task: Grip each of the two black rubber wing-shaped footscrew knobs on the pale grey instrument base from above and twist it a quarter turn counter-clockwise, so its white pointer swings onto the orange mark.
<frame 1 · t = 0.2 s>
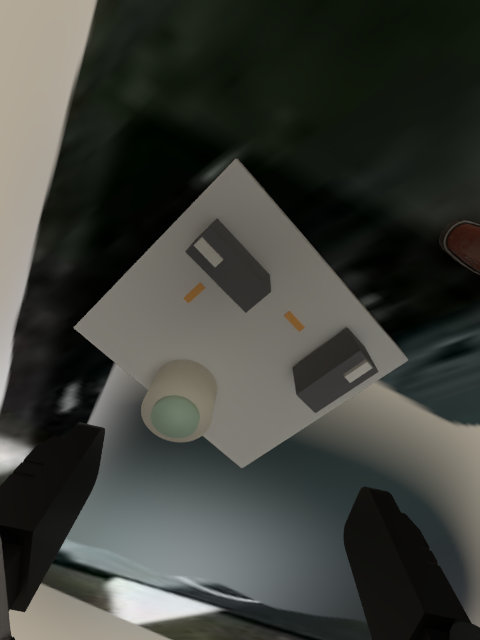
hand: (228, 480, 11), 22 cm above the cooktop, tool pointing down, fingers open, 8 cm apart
base plate: (240, 331, 33), on the cooktop
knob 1: (230, 265, 26), point 5 cm above the cooktop, hinge at 0.0°
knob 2: (332, 370, 29), point 5 cm above the cooktop, hinge at 0.0°
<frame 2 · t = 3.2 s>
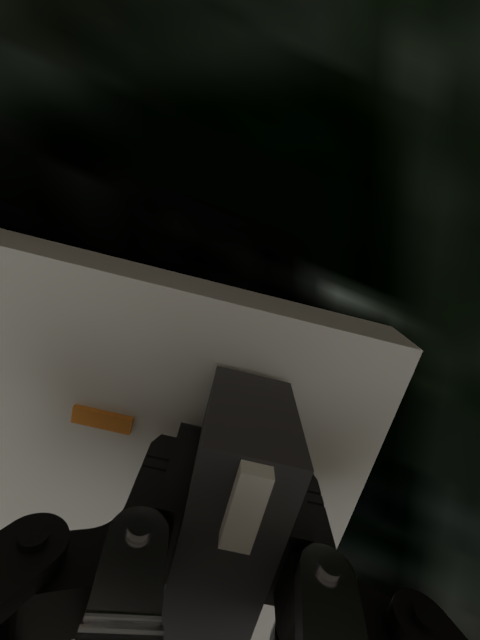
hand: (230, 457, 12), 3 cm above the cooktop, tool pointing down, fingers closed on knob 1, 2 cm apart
base plate: (96, 496, 16), on the cooktop
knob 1: (228, 503, 10), point 5 cm above the cooktop, hinge at 0.0°, touching gripper
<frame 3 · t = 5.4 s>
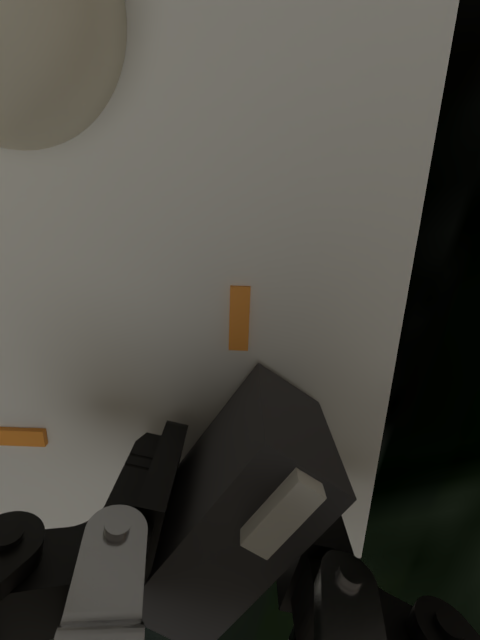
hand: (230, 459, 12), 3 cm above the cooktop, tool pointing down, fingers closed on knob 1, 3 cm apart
base plate: (79, 279, 13), on the cooktop
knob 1: (232, 499, 10), point 5 cm above the cooktop, hinge at 57.0°, touching gripper
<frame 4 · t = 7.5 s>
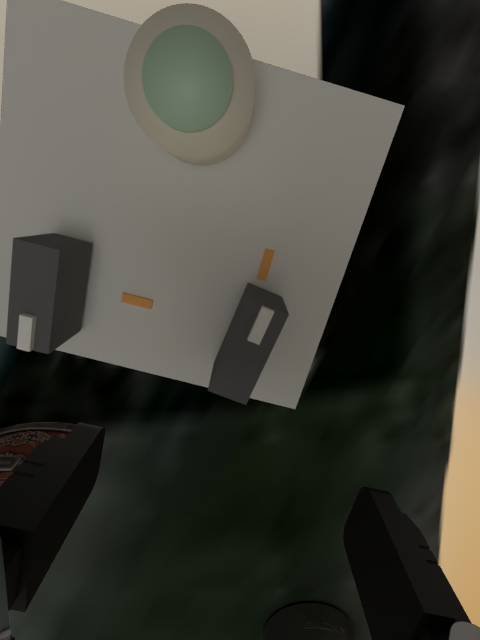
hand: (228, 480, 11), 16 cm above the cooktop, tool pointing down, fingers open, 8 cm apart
lighter: (41, 438, 30), on the cooktop
base plate: (182, 229, 24), on the cooktop
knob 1: (246, 342, 21), point 5 cm above the cooktop, hinge at 82.5°
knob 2: (49, 291, 21), point 5 cm above the cooktop, hinge at 0.0°
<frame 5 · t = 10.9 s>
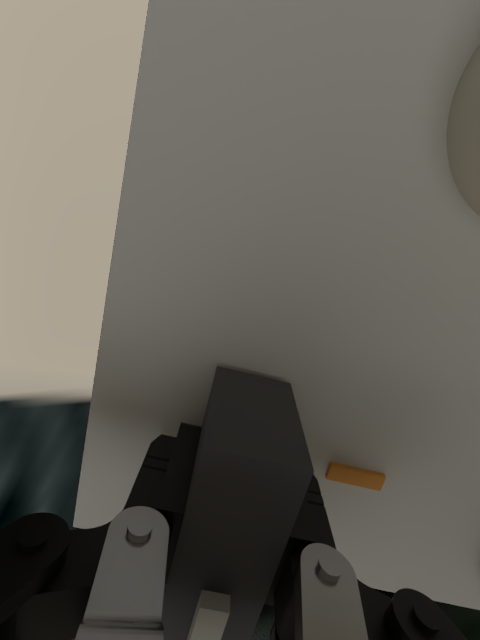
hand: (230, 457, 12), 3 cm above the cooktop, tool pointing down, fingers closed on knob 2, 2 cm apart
base plate: (415, 332, 14), on the cooktop
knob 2: (228, 503, 10), point 5 cm above the cooktop, hinge at 0.0°, touching gripper
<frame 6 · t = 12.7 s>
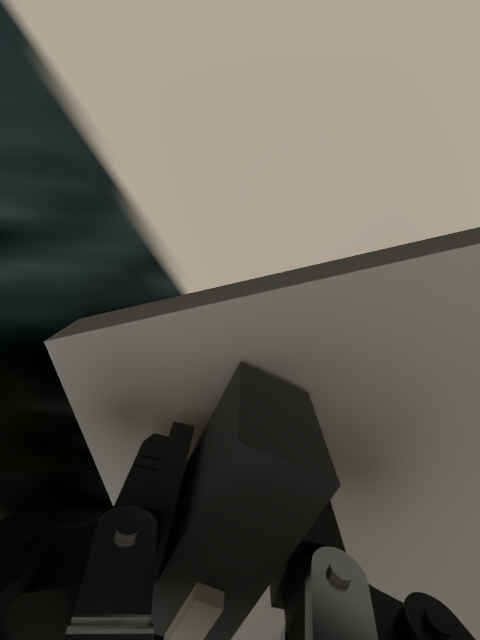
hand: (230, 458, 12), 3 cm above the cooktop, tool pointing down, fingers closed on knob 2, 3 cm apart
base plate: (374, 498, 16), on the cooktop
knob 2: (230, 499, 10), point 5 cm above the cooktop, hinge at 50.6°, touching gripper
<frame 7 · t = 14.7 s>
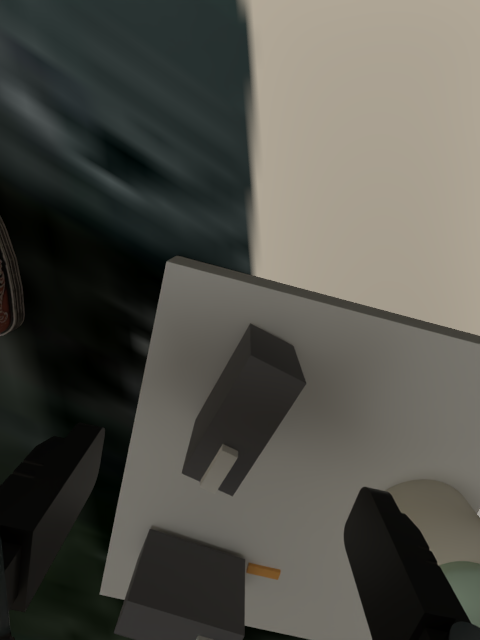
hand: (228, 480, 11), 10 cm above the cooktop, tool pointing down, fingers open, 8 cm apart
base plate: (295, 465, 22), on the cooktop
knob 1: (185, 596, 19), point 5 cm above the cooktop, hinge at 83.5°
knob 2: (241, 406, 16), point 5 cm above the cooktop, hinge at 76.7°
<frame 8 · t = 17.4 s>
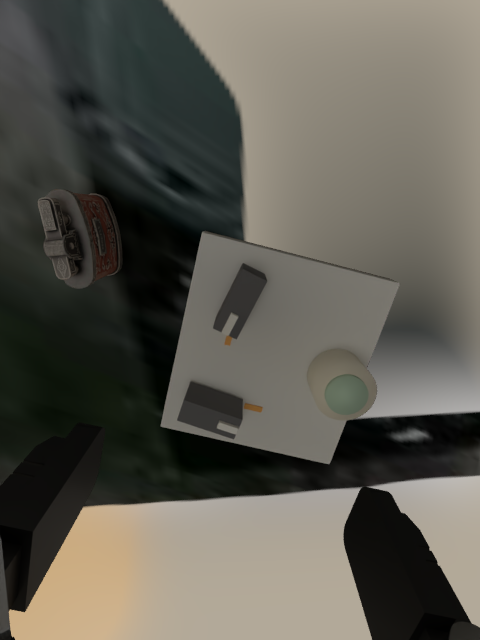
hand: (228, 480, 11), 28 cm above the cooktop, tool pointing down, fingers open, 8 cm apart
lighter: (104, 235, 36), on the cooktop
base plate: (270, 350, 40), on the cooktop
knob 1: (211, 410, 36), point 5 cm above the cooktop, hinge at 83.5°
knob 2: (239, 300, 33), point 5 cm above the cooktop, hinge at 77.7°
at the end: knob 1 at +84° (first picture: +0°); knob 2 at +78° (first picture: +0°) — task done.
